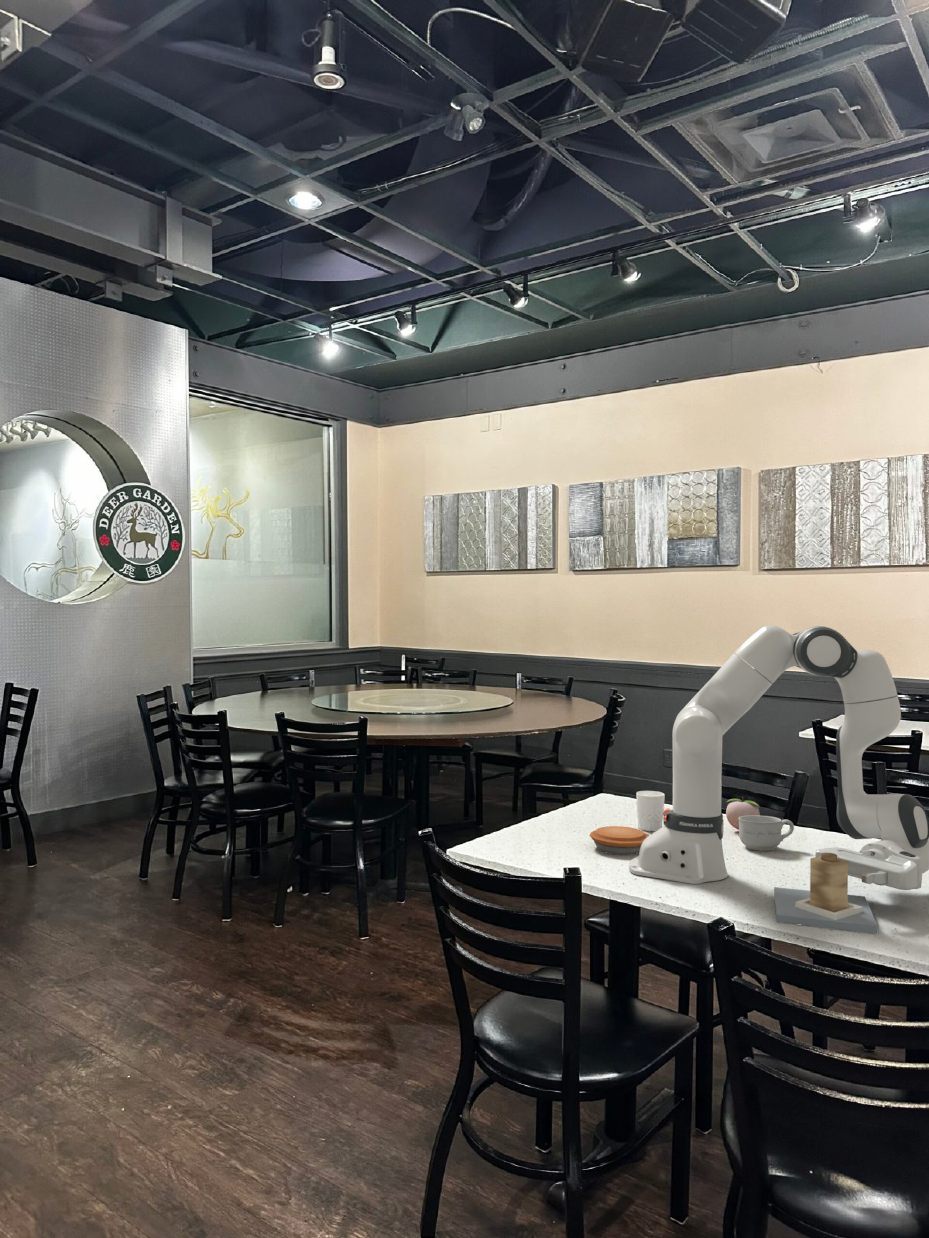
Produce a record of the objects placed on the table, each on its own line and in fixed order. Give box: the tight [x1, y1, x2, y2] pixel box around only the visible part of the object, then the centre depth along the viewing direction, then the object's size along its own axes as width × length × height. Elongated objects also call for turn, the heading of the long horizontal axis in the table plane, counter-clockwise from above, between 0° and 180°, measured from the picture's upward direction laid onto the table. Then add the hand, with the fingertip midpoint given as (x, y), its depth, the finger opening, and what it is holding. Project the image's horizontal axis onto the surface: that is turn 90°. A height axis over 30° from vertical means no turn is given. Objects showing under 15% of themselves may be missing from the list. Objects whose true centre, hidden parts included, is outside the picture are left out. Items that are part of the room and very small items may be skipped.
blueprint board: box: [773, 886, 878, 935], centre depth 173 cm, size 18×18×2 cm
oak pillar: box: [809, 853, 849, 913], centre depth 171 cm, size 5×5×11 cm
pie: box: [589, 825, 650, 856], centre depth 221 cm, size 15×16×5 cm
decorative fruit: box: [725, 796, 761, 831], centre depth 239 cm, size 9×8×10 cm
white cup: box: [635, 790, 666, 832], centre depth 243 cm, size 8×8×10 cm
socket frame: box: [795, 898, 863, 920], centre depth 171 cm, size 9×9×1 cm
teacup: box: [738, 815, 795, 852], centre depth 222 cm, size 14×11×8 cm
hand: (843, 873), depth 173 cm, fingers open, 8 cm apart
